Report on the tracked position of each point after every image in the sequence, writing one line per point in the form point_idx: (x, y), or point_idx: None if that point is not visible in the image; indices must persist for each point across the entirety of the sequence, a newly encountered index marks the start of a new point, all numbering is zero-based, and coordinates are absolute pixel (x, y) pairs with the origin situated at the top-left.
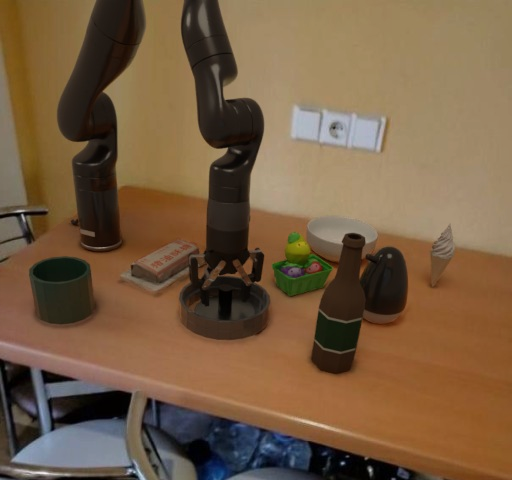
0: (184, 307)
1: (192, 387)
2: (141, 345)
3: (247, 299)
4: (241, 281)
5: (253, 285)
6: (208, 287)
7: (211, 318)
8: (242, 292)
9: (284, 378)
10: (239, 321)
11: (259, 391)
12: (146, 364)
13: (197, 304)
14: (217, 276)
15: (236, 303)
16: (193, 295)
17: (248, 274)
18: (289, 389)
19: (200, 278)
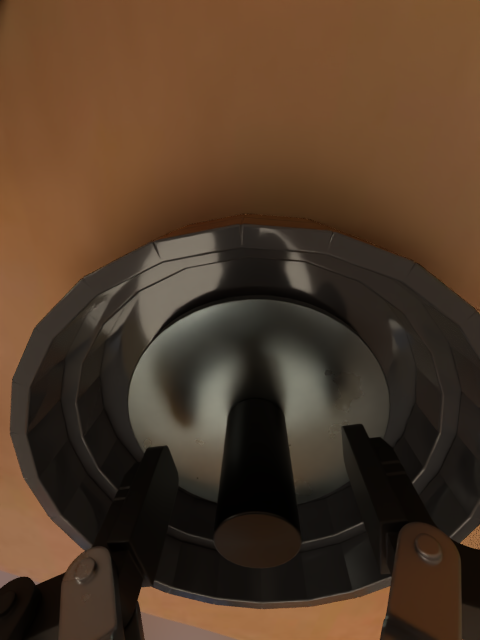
0: (67, 533)
1: (164, 615)
2: (10, 507)
3: (386, 302)
4: (381, 527)
5: (466, 348)
6: (139, 616)
7: (199, 466)
8: (358, 493)
9: (368, 614)
10: (293, 605)
11: (301, 632)
12: (49, 561)
13: (135, 377)
14: (223, 243)
15: (317, 375)
16: (101, 333)
17: (472, 607)
18: (367, 634)
19: (60, 602)
